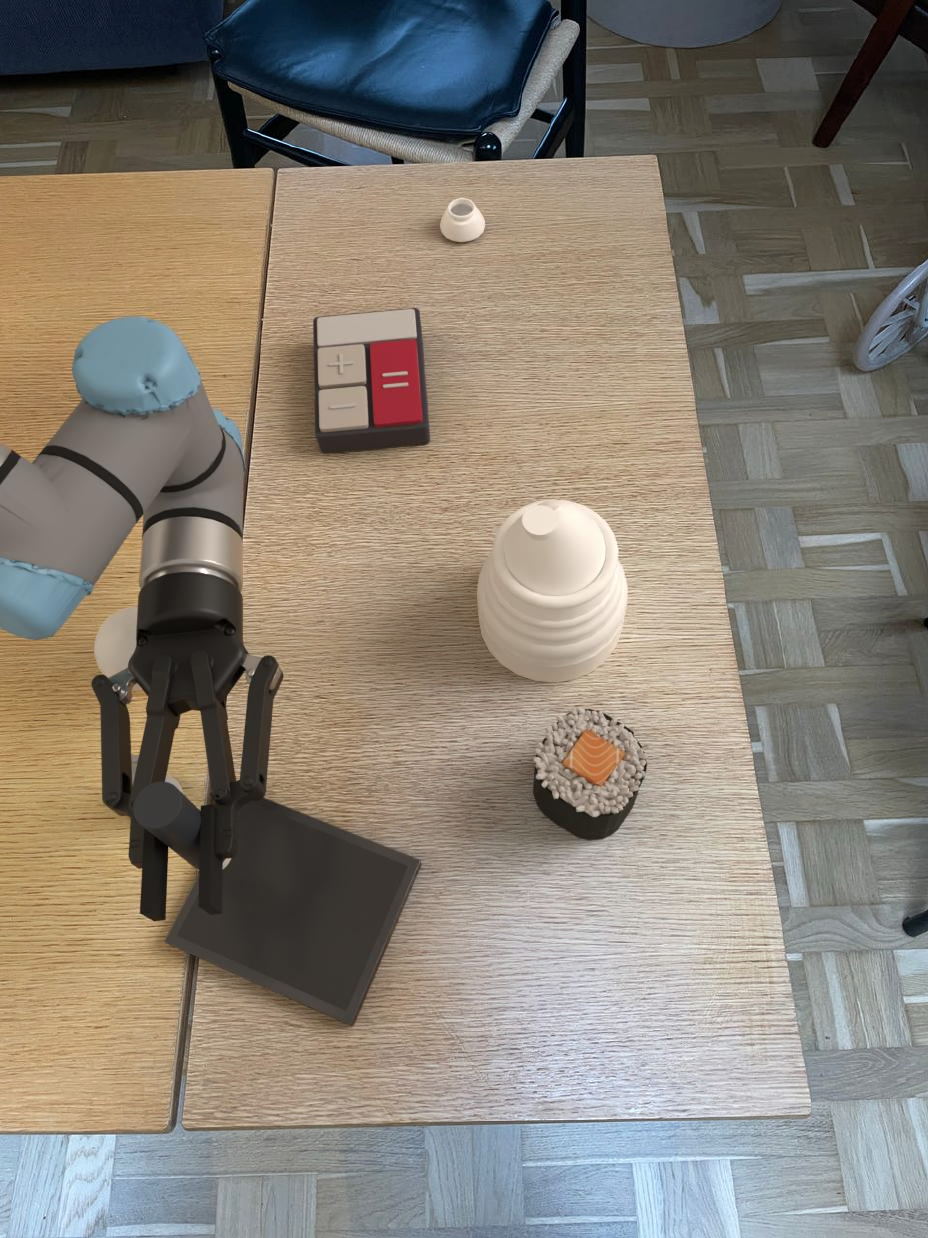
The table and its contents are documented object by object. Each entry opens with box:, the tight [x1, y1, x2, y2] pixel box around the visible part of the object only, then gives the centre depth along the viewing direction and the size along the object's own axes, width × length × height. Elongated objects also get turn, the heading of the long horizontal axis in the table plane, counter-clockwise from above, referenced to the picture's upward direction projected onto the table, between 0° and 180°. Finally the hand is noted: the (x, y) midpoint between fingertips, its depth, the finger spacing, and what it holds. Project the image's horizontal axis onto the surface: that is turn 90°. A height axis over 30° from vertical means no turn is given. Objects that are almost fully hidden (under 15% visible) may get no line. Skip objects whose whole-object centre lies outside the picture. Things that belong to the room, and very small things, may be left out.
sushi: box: [532, 706, 649, 841], centre depth 77 cm, size 8×8×8 cm
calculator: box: [312, 307, 431, 454], centre depth 99 cm, size 11×4×15 cm
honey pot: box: [476, 498, 629, 683], centre depth 80 cm, size 13×13×18 cm
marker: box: [134, 781, 231, 872], centre depth 65 cm, size 3×3×12 cm
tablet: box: [163, 796, 423, 1027], centre depth 77 cm, size 16×13×1 cm
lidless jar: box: [439, 197, 486, 243], centre depth 110 cm, size 5×3×5 cm
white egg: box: [93, 590, 143, 692], centre depth 85 cm, size 10×7×7 cm
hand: (181, 912), depth 62 cm, fingers closed on marker, 3 cm apart
